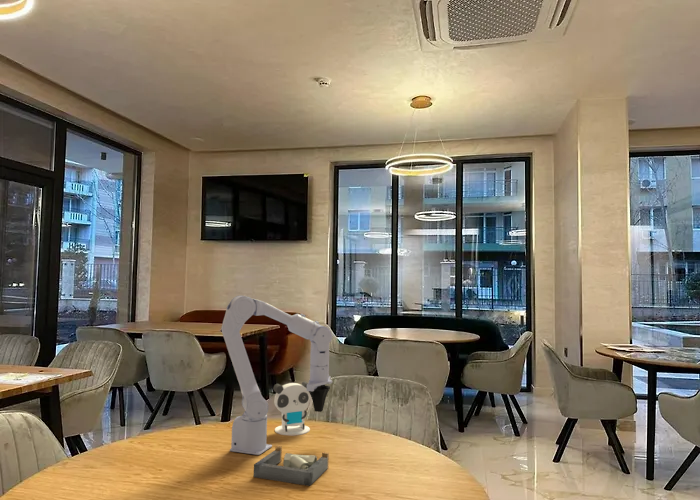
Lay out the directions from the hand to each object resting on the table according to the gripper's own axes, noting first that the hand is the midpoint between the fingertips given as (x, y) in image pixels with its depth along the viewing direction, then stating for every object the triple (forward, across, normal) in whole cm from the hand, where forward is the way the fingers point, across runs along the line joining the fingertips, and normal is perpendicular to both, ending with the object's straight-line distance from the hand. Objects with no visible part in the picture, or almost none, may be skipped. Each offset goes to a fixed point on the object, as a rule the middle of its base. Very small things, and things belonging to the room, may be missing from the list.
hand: (318, 411), depth 146 cm
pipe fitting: (+10, -22, -4) cm, 24 cm away
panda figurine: (+10, +9, +13) cm, 18 cm away
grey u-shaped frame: (+9, -23, -2) cm, 25 cm away
